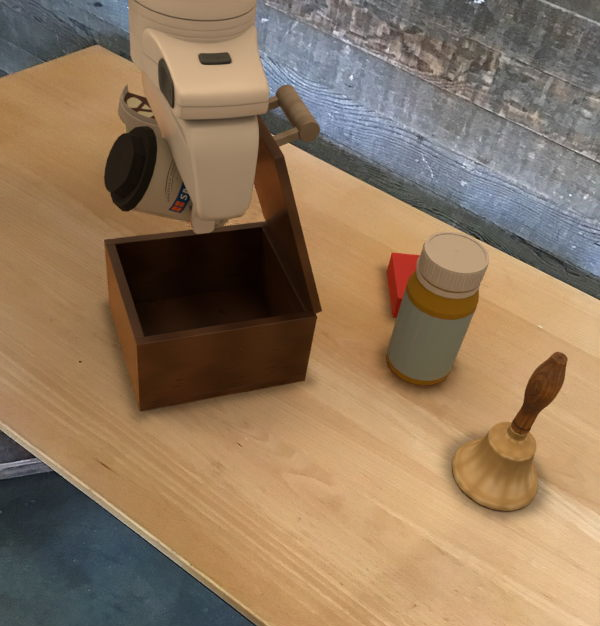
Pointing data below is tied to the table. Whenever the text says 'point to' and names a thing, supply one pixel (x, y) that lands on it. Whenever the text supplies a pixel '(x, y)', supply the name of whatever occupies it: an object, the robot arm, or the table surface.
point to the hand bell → (509, 447)
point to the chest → (207, 313)
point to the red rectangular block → (399, 277)
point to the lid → (286, 187)
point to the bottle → (437, 308)
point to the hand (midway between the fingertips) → (189, 199)
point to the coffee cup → (147, 177)
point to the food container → (136, 112)
